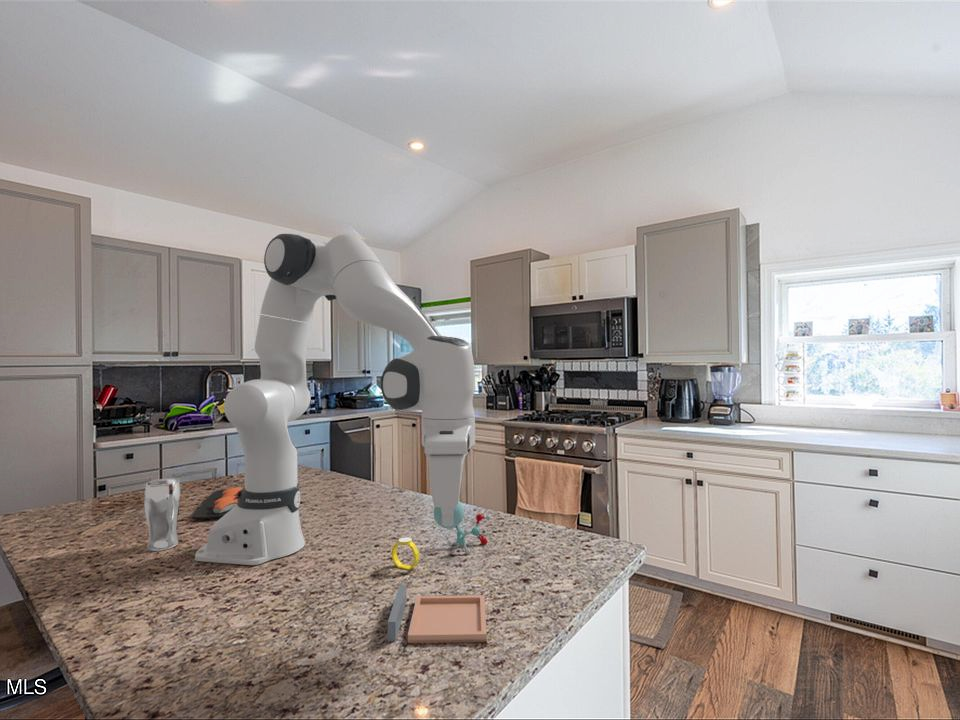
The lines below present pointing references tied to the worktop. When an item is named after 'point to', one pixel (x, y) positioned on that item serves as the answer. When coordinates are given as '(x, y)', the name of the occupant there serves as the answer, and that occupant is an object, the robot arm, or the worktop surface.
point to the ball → (457, 515)
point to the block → (396, 613)
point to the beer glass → (162, 513)
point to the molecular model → (475, 531)
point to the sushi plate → (218, 504)
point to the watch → (416, 553)
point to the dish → (448, 619)
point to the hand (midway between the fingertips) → (448, 518)
